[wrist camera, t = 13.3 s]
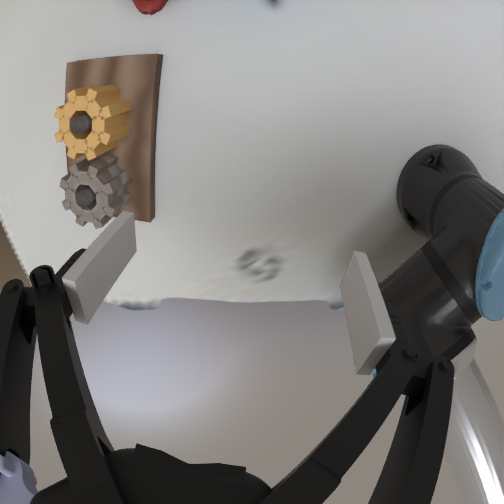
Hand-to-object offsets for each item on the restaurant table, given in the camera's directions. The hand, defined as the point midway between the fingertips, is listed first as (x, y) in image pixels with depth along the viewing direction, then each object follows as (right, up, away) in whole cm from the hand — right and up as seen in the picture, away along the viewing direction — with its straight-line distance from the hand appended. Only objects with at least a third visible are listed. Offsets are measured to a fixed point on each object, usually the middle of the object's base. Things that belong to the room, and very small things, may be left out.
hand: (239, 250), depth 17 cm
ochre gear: (-21, +20, +19) cm, 35 cm away
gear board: (-21, +18, +23) cm, 36 cm away
